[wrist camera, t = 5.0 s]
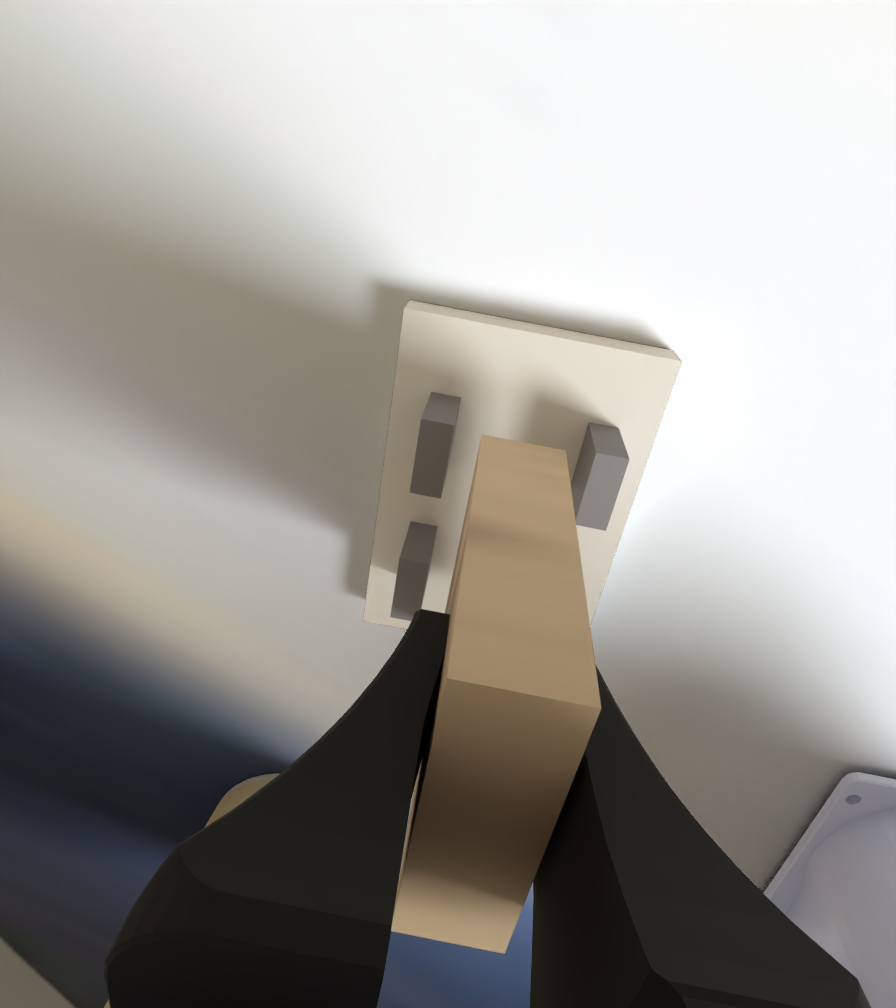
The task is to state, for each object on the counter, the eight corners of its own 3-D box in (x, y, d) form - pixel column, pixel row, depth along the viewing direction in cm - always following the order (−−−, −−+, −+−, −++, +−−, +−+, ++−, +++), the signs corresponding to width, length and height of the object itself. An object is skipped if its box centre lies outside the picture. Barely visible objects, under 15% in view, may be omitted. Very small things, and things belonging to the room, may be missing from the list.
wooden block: (511, 643, 18) (504, 954, 11) (441, 630, 18) (389, 930, 11) (565, 450, 15) (600, 708, 8) (481, 434, 15) (447, 677, 8)
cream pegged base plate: (575, 642, 22) (582, 709, 19) (369, 602, 22) (348, 663, 19) (673, 350, 17) (701, 386, 14) (410, 300, 17) (389, 326, 14)
